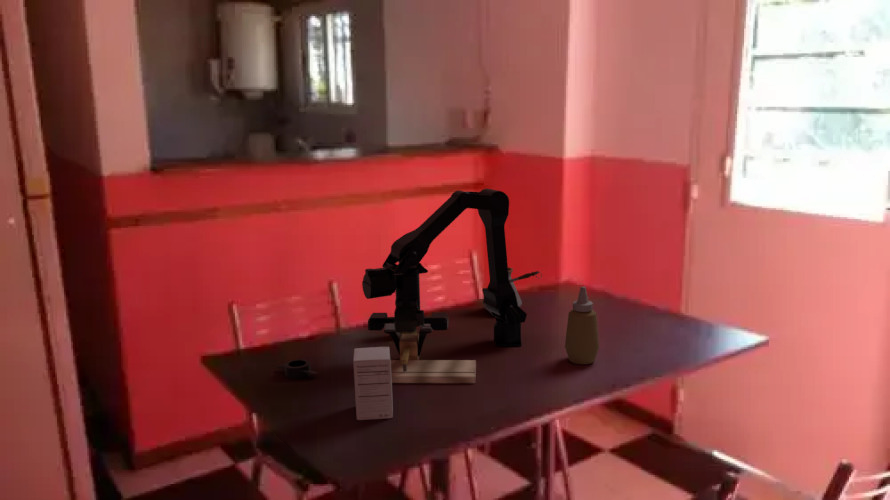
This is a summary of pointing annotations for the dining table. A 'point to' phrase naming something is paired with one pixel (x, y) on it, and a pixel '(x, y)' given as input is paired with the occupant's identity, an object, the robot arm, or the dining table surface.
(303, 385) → the dining table surface
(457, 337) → the dining table surface
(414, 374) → the board
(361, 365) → the supplement box
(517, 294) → the coffee pot
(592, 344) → the squeeze bottle
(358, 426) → the dining table surface
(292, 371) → the dark ring with tabs
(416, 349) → the gauge
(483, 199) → the robot arm
